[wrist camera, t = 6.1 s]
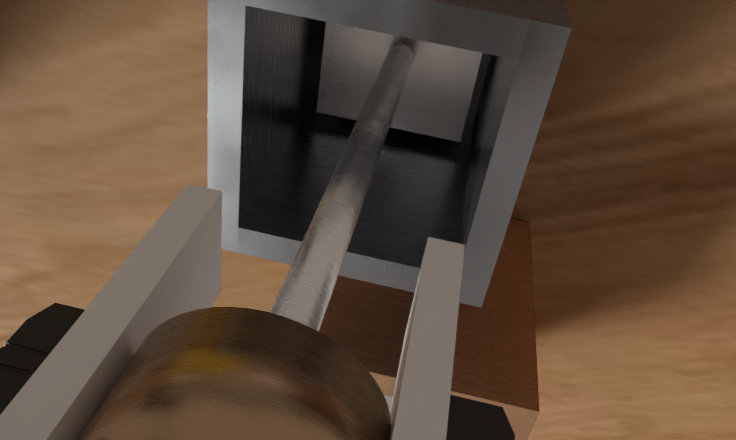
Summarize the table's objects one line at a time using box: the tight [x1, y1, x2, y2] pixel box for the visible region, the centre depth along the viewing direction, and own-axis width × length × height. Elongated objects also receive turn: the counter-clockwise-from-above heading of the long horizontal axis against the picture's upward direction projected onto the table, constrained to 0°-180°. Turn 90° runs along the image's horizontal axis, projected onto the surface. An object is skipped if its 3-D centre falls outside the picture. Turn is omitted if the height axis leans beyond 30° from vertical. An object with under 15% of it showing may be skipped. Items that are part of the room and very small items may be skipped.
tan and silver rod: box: [78, 22, 482, 440], centre depth 17 cm, size 6×6×21 cm
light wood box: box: [319, 218, 539, 440], centre depth 31 cm, size 12×9×12 cm
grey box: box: [208, 0, 572, 308], centre depth 22 cm, size 12×9×12 cm
